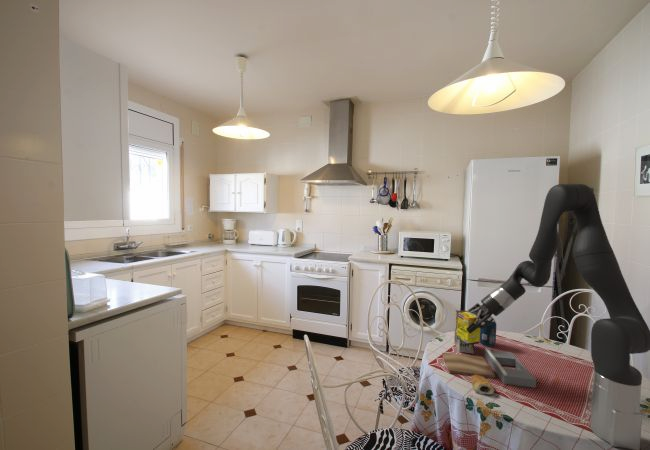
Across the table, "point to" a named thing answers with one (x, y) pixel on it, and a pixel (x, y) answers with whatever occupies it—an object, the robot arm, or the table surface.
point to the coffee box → (459, 344)
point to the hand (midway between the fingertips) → (464, 327)
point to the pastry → (481, 385)
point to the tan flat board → (467, 365)
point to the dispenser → (509, 375)
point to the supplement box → (463, 322)
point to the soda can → (488, 334)
